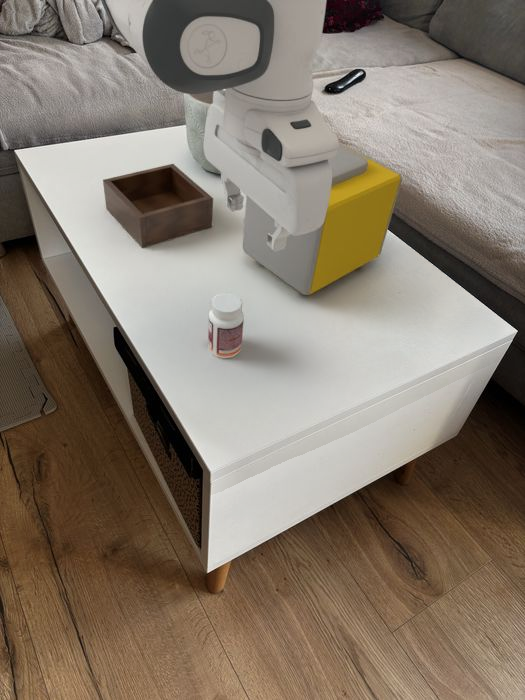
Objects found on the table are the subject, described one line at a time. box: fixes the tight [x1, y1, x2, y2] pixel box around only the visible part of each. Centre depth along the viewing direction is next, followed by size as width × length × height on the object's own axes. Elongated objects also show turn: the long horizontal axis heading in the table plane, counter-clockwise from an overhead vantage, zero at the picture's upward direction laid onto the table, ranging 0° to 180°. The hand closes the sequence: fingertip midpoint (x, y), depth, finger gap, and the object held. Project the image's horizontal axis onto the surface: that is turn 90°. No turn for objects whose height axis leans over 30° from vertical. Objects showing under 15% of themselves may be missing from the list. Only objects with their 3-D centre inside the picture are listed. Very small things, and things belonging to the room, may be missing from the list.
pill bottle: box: [207, 292, 245, 359], centre depth 75 cm, size 5×5×8 cm
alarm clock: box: [242, 141, 403, 296], centre depth 88 cm, size 20×16×18 cm
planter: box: [182, 92, 221, 175], centre depth 111 cm, size 17×17×15 cm
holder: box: [102, 163, 214, 249], centre depth 97 cm, size 14×14×6 cm
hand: (253, 227), depth 67 cm, fingers open, 8 cm apart
